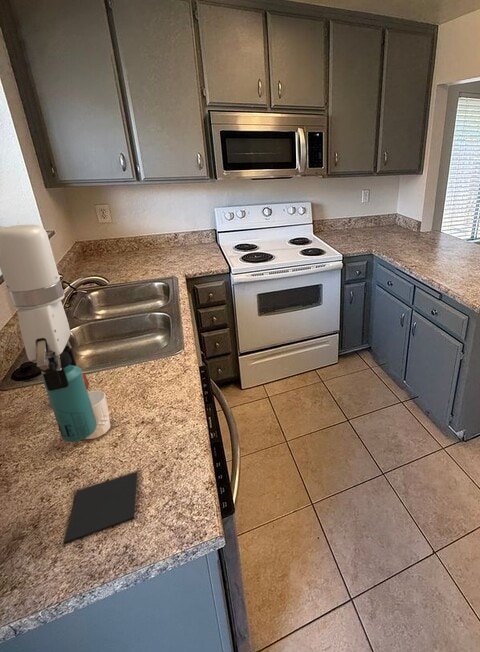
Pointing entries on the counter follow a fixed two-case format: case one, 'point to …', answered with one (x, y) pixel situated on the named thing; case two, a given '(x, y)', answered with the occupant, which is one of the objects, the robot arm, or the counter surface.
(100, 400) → the white cup
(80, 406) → the beverage bottle
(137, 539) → the counter surface
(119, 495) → the corner mat
